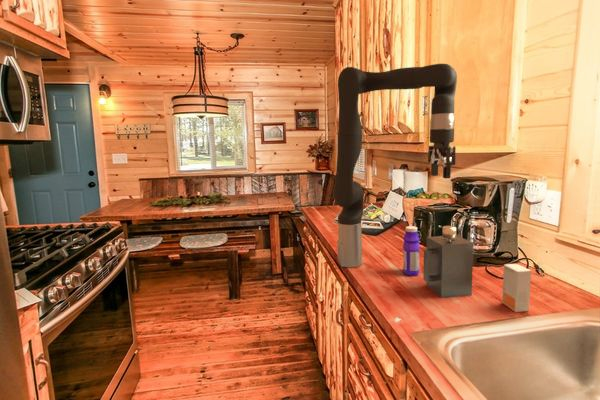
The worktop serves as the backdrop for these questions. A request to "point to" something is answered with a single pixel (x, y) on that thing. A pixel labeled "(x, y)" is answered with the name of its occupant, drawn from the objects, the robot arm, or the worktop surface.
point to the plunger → (449, 232)
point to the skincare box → (516, 287)
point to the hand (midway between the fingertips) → (440, 176)
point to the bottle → (411, 251)
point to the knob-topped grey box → (448, 266)
